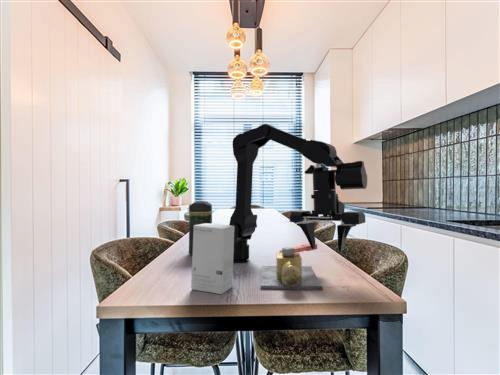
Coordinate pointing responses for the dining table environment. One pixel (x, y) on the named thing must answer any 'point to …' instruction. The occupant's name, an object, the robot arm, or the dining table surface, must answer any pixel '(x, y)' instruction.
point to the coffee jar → (198, 218)
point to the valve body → (289, 274)
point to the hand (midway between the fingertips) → (326, 250)
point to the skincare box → (212, 257)
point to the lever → (296, 249)
